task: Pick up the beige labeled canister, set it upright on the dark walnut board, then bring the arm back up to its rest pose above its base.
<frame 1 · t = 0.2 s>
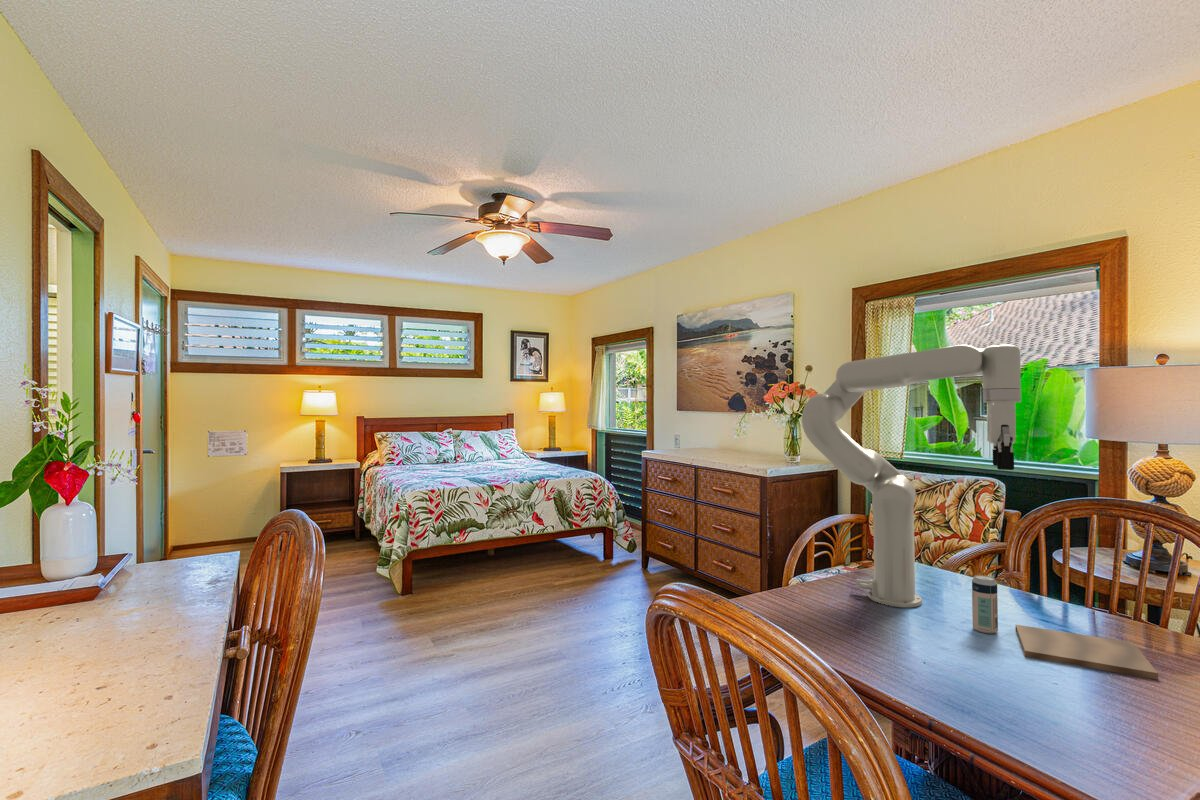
hand: (1003, 467, 139), 36 cm above the table, tool pointing down, fingers open, 9 cm apart
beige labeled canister: (985, 631, 130), on the table
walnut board: (1079, 652, 119), on the table
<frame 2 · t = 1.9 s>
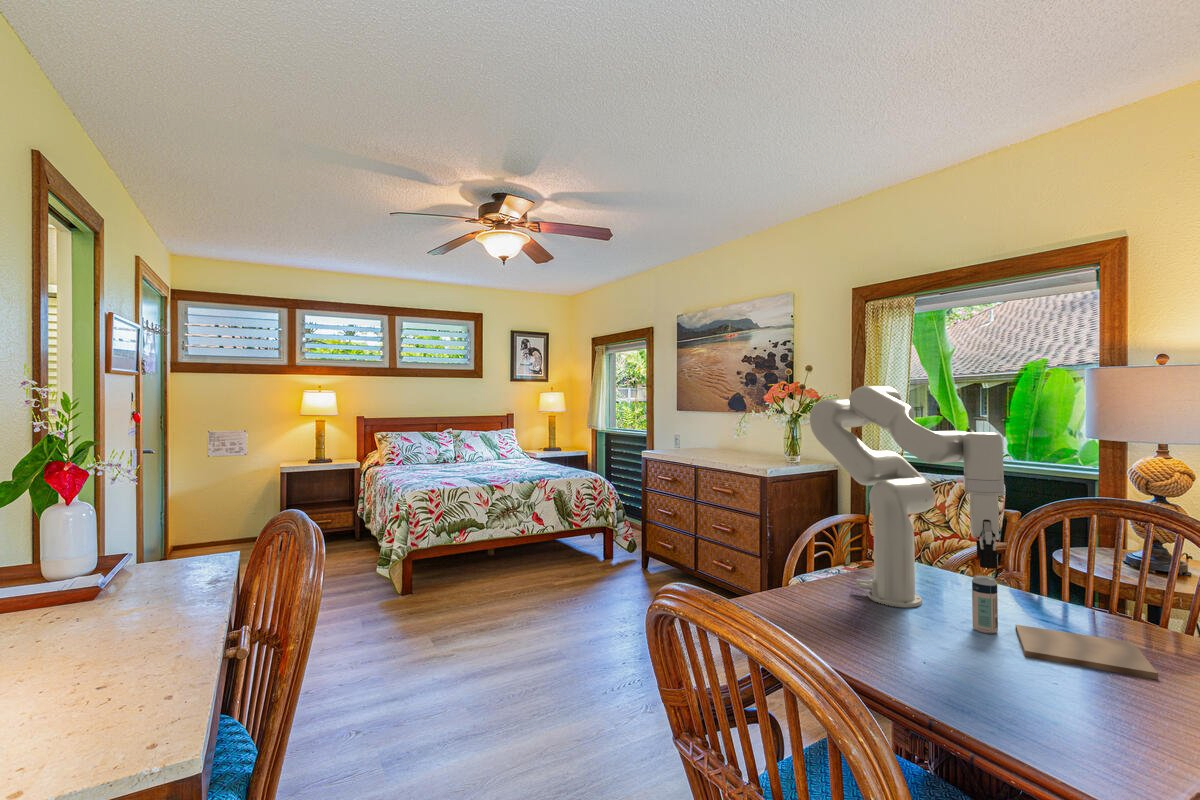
hand: (986, 562, 130), 15 cm above the table, tool pointing down, fingers open, 9 cm apart
nothing on the table moved.
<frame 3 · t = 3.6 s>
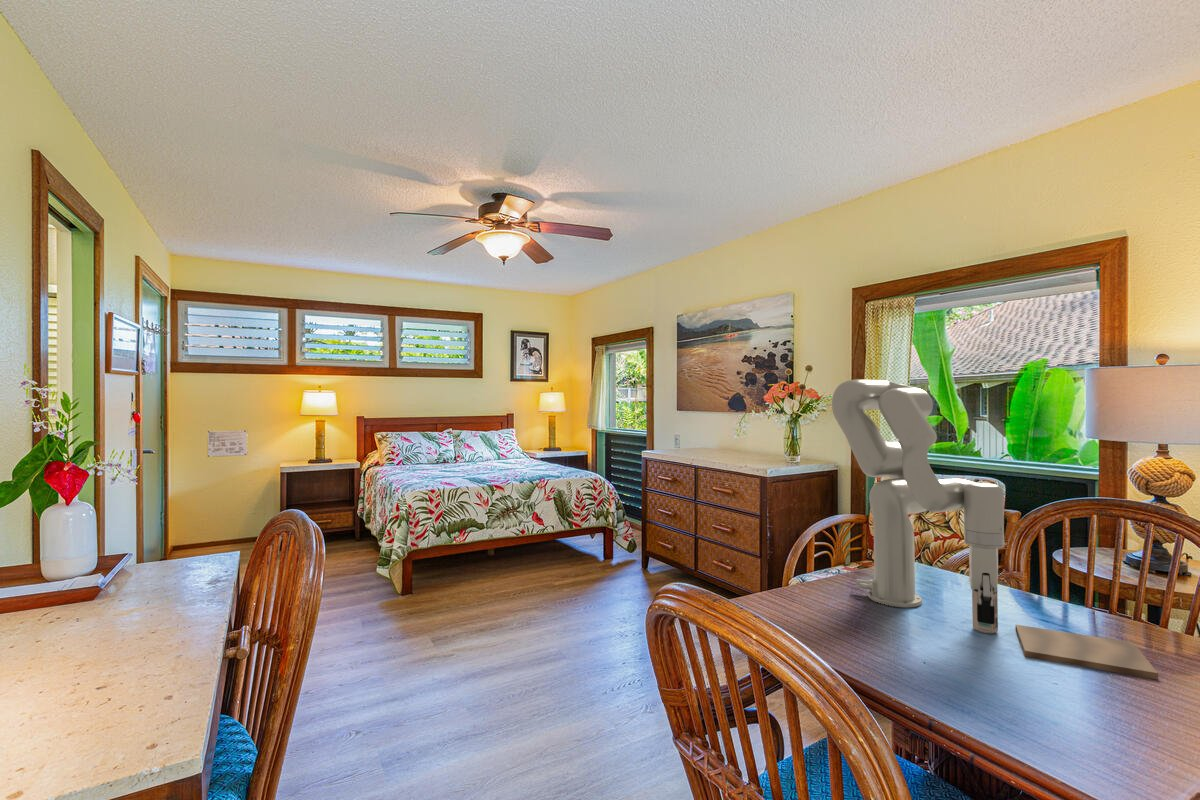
hand: (985, 617, 130), 3 cm above the table, tool pointing down, fingers closed on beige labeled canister, 4 cm apart
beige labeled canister: (985, 631, 130), on the table, touching gripper
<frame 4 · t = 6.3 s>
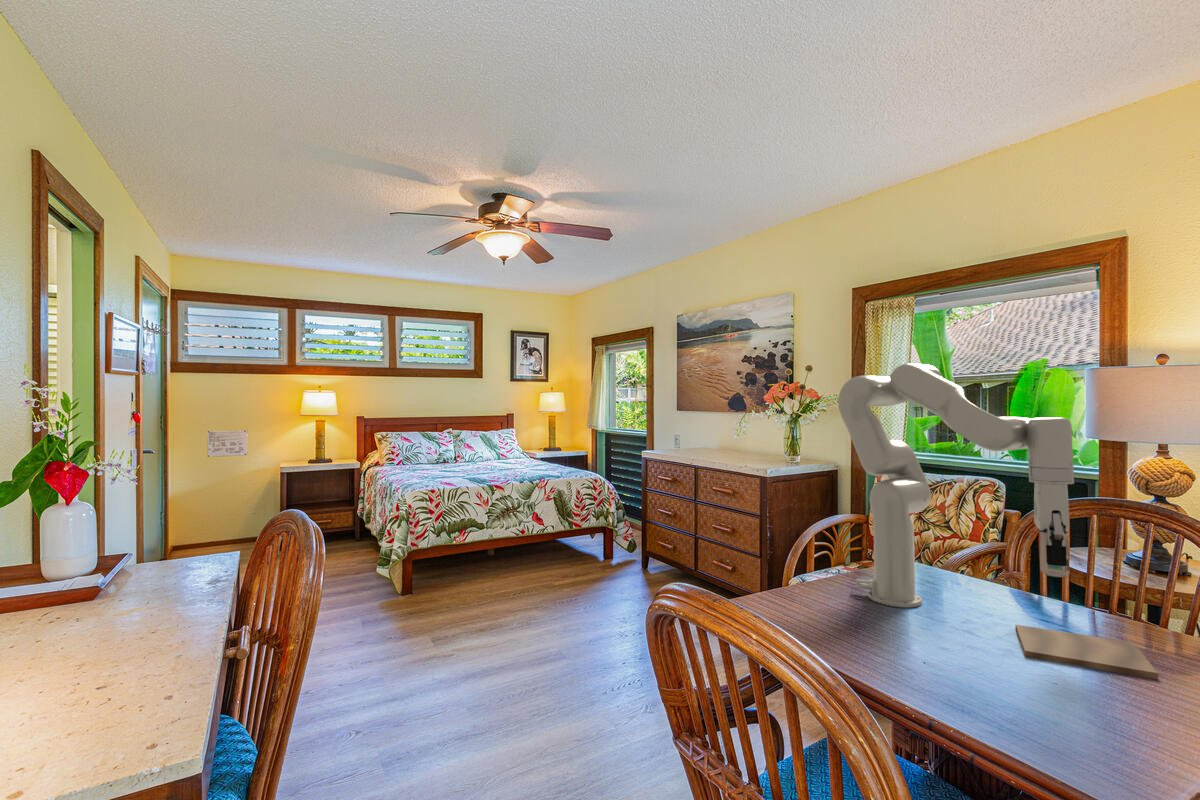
hand: (1054, 561, 121), 18 cm above the table, tool pointing down, fingers closed on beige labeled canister, 4 cm apart
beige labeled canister: (1054, 575, 121), point 15 cm above the table, touching gripper
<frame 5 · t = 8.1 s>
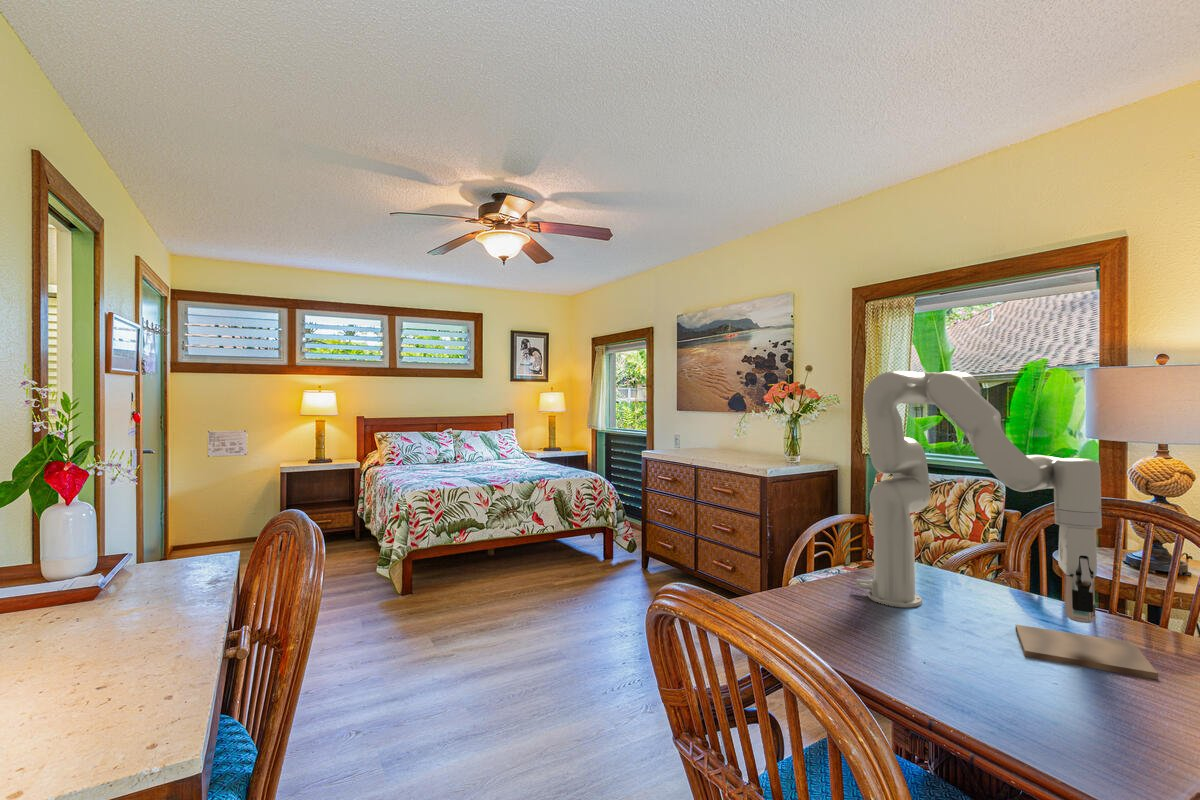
hand: (1079, 605, 119), 10 cm above the table, tool pointing down, fingers closed on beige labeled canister, 4 cm apart
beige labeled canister: (1080, 620, 119), point 7 cm above the table, touching gripper
when the fingers open (5 cm above the table, at t = 9.3 s): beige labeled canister drops 1 cm, resting on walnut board.
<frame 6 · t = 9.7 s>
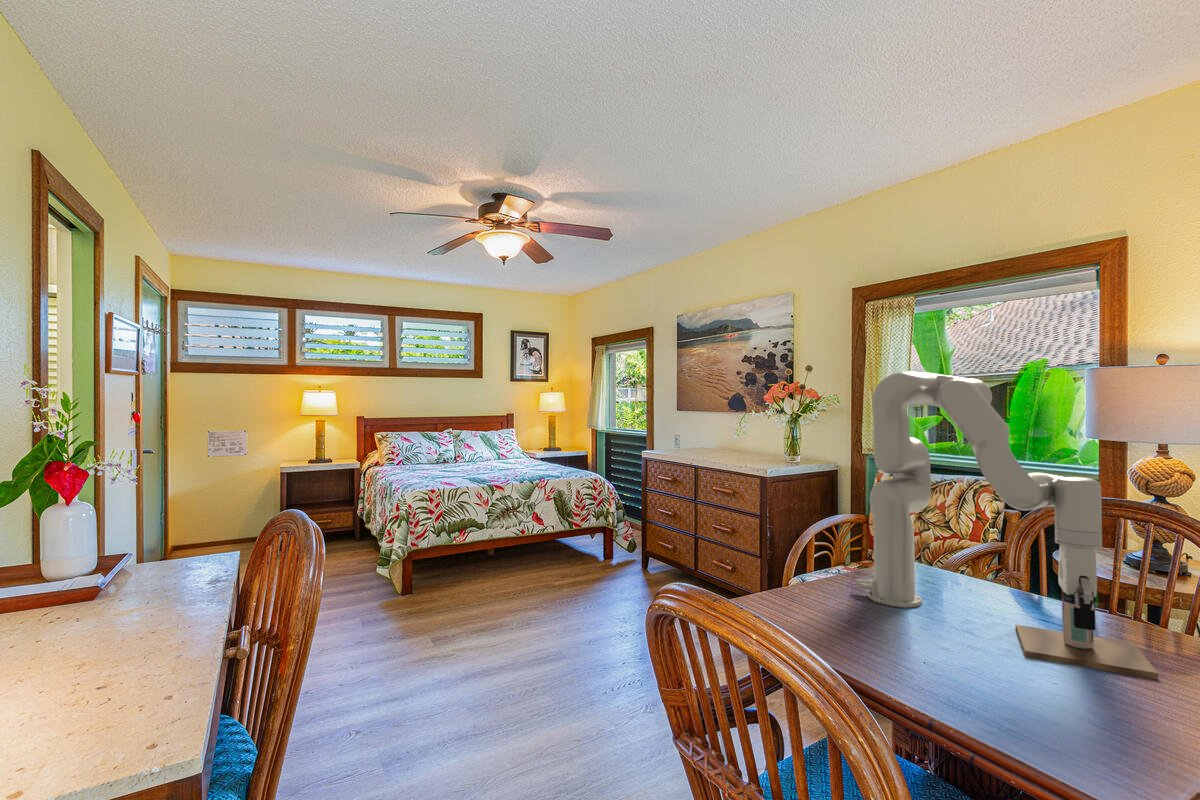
hand: (1079, 620, 119), 6 cm above the table, tool pointing down, fingers open, 9 cm apart
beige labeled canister: (1078, 646, 119), point 1 cm above the table, touching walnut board
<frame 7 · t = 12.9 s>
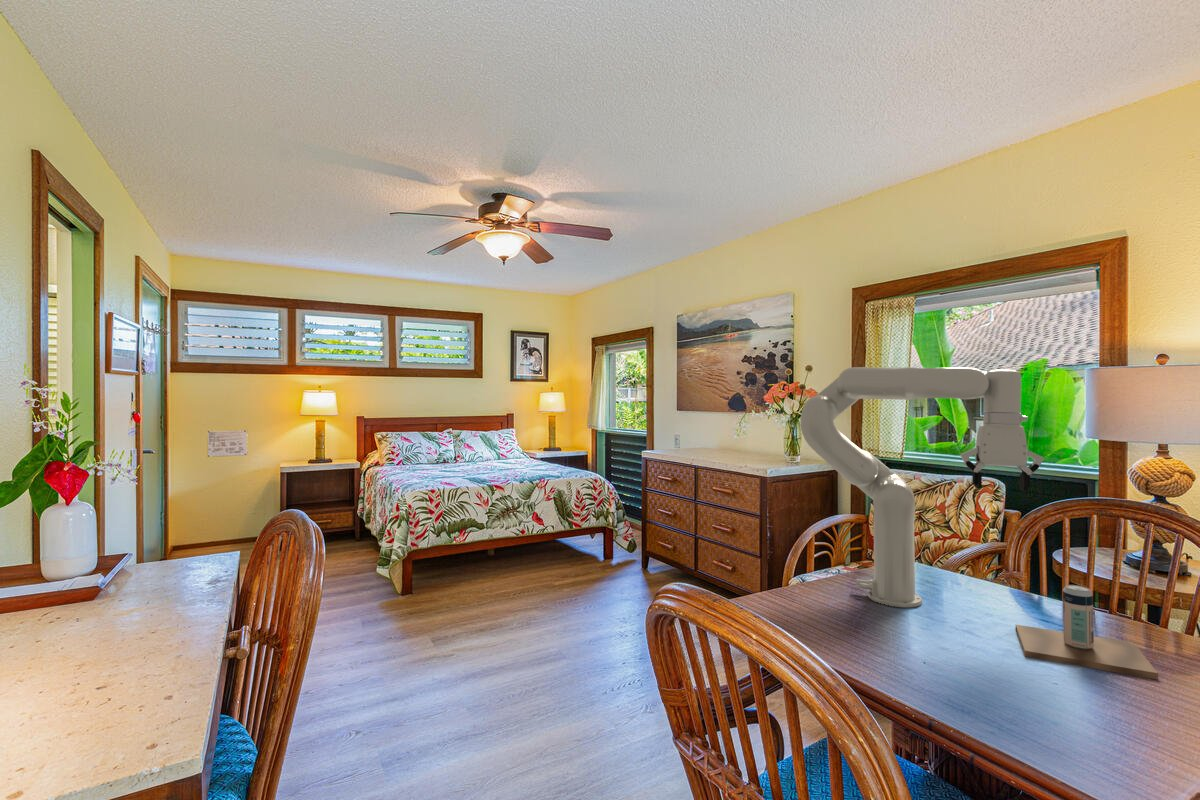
hand: (1000, 489, 142), 30 cm above the table, tool pointing down, fingers open, 9 cm apart
nothing on the table moved.
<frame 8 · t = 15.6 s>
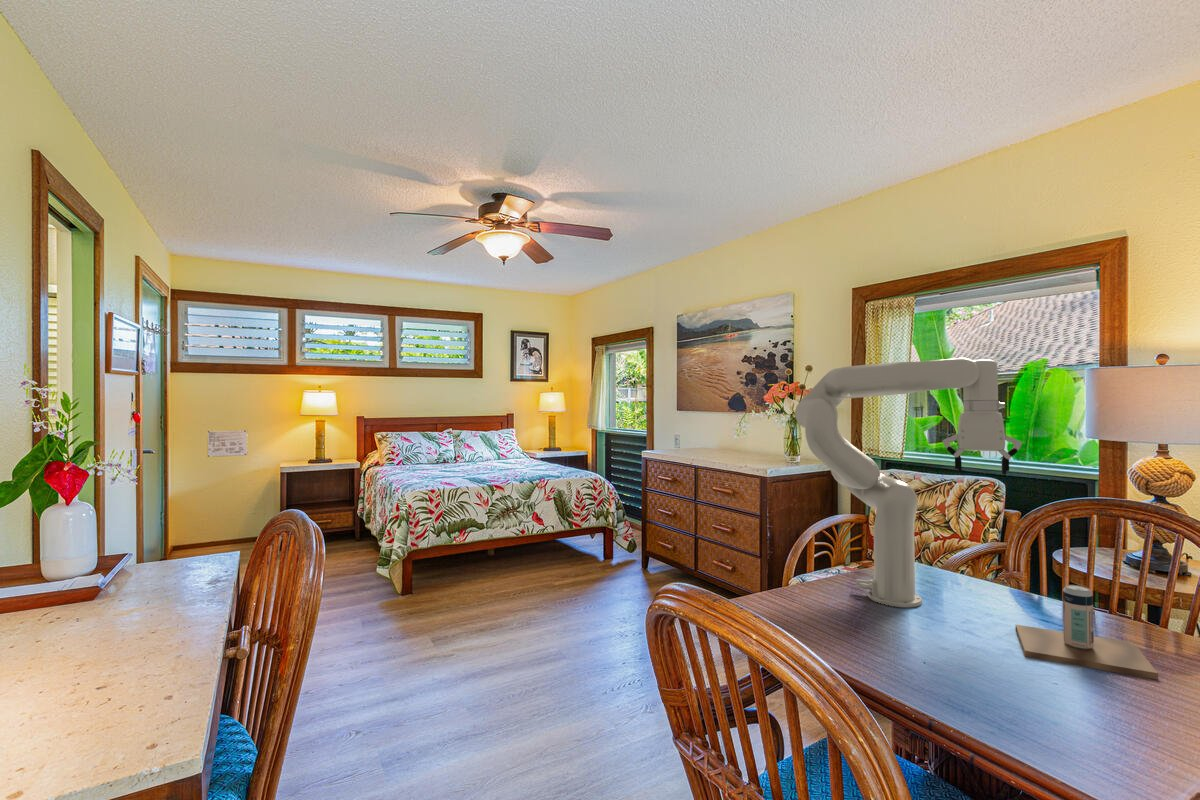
hand: (981, 473, 150), 33 cm above the table, tool pointing down, fingers open, 9 cm apart
nothing on the table moved.
at the end: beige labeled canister inside the target area on the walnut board (0.2 cm from its centre), point 1.0 cm above the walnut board's base; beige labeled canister tilted 0°; the gripper is holding nothing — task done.
